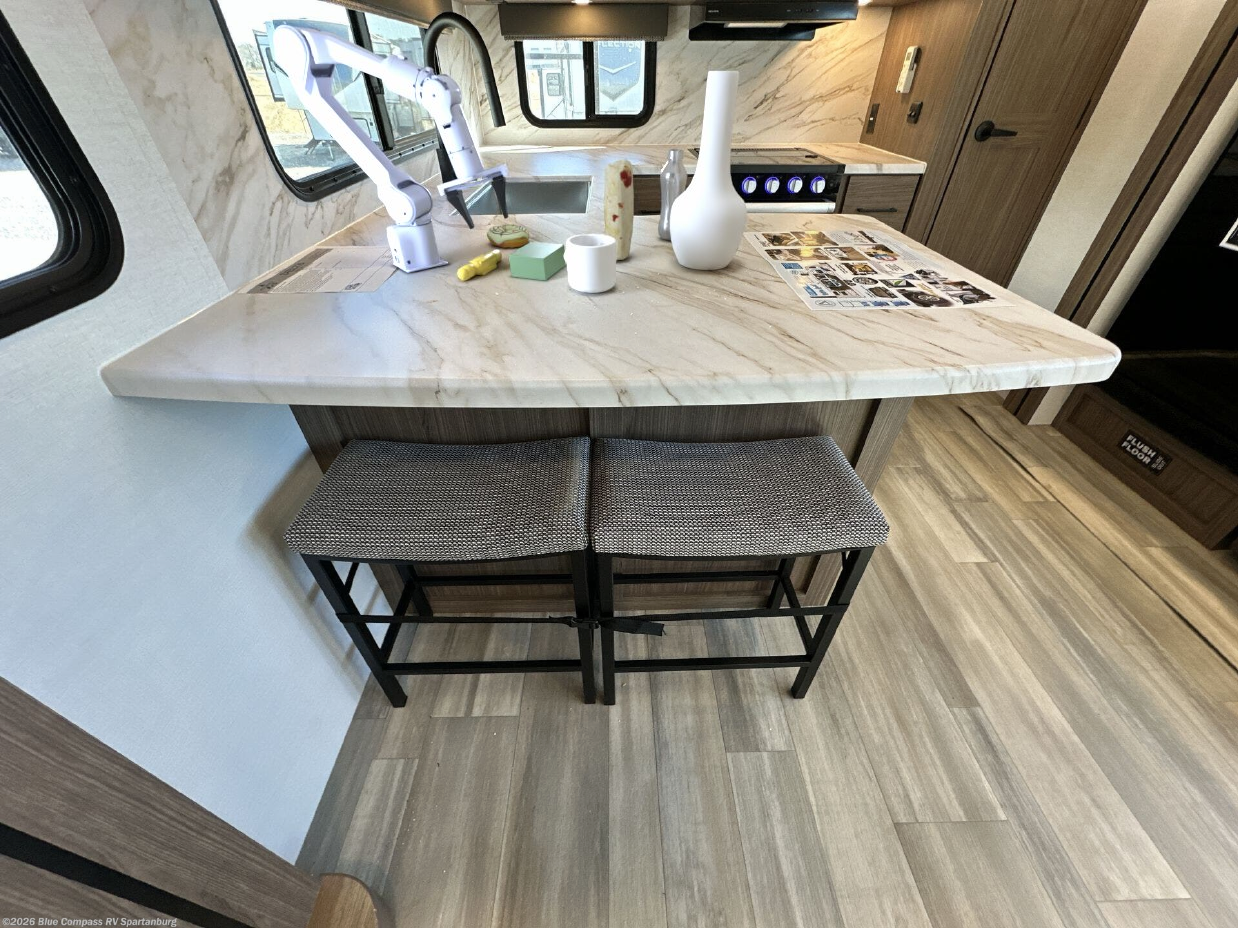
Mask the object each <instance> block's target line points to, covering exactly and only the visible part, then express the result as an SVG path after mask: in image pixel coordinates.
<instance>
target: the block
mask: <svg viewBox="0 0 1238 928" xmlns="http://www.w3.org/2000/svg"><path fill="white" fill-rule="evenodd" d="M565 251H566V249H565V244H561V243H550V242H541V241H530V242H527V244H525V245H523V246H520V247H519V248H518V249H517V250H515V251H513V252H512V253H510V254H508V260H509V268H510V276H511V277H513V278H521V279H528V280H536V281H547V280H548V279H550V278H551V277H553V276H554V275H555V274H556V273H558V272H559V271H560V270H561V269H563V268H564V267H565V266H566V261H565V259H564V253H565Z"/></svg>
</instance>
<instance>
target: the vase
mask: <svg viewBox="0 0 1238 928" xmlns="http://www.w3.org/2000/svg"><path fill="white" fill-rule="evenodd" d="M739 80H740V71H738V70H708V73H707V78H706V89H705V101H704V112H703V119H702V120H703V122H702V131H701V138H700V147H699V154H698V158H697V164H696V167H695V172H694V175H693V177H692V179H691V182H690V183H689V185H688V187H687V188H685V191H684V192H683V193H682V194H681V195H680V196H679V197H678V198H677V199H676V200H675V202H674V203H673V206H672V209H671V214H670V234H671V240H670V241H671V245H672V249H673V253H674V255H675V257H676V259H677V261H678V264H680V265H681V266H682V267H686V268H689V269H692V270H700V271H713V270H714V271H715V270H716V271H717V270H720V269H725V268H726V267H728V266H729V264H730V263H731V262H732V260H733V258H734V257H735V256H736V254H737V252H738V249H739V247H740V245H741V243H742V240H743V237H744V234H745V231H746V226H747V222H748V221H747V220H748V209H747V205H746V203H745V200H744V199H743V198H742V196H740V194H738V191H736V188H735V187H734V185H733V181H732V176H731V175H732V174H731V154H732V153H731V151H732V140H733V139H732V138H733V129H734V121H735V114H736V112H735V111H736V104H737V97H738V90H739V82H740V81H739Z"/></svg>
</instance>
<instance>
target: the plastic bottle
mask: <svg viewBox="0 0 1238 928" xmlns="http://www.w3.org/2000/svg"><path fill="white" fill-rule="evenodd" d="M666 155H667V156H666V159H667V162H666V163H665V165H664V166H663V167H662V169H661V171H660V175H659V177H660V178H659V179H660V189H661V190H660V191H661V207H660V214H659V220H658V226H657V233H658V235H659V237H660V238H661V239H663V240H667V241H668V240H669V241H671V234H670V214H671V209H672V206H673V203H674V202H675V200H676V199H677V198H678V197H679V196H680V195H681V194H682V193H683V192H684V191H686V186H687V185H686V184H687V180H688V173H687V170H686V167H685V165H684V164H683V160H684V149H680V148H669V149H667V154H666Z"/></svg>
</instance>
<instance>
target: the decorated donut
mask: <svg viewBox="0 0 1238 928" xmlns="http://www.w3.org/2000/svg"><path fill="white" fill-rule="evenodd" d="M486 237H487V239H488V241H489V242H490V244H491V245H493V246H496V247H500V248H503V249H507V248H510V249H511V248H512V249H513V248H521V247H523V246H525V245H527V244H528V243H529V240H530V230H529V229H528V228H527V227H526V226H523V225H520V224H510V223H505V224H500V225H494V226H491V227H489V228H488V229H487V231H486Z"/></svg>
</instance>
